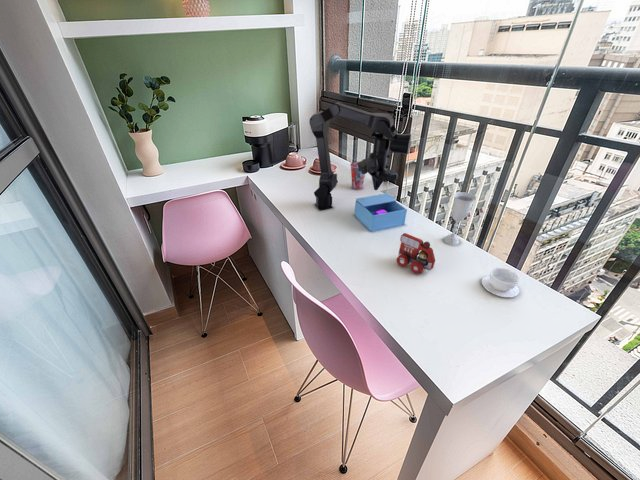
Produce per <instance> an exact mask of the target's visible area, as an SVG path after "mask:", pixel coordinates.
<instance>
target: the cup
mask: <svg viewBox="0 0 640 480" xmlns="http://www.w3.org/2000/svg"><path fill="white" fill-rule="evenodd" d="M358 162H359V161H354V162H350V173H351V177H350V178H351V188H352V189H353V190H355V191H356V190H357V191H359V190H362V189H363V187H364V182H365V177H366V174H362V172H360V171H359V169H358V165H357V163H358Z"/></svg>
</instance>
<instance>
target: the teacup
mask: <svg viewBox="0 0 640 480" xmlns="http://www.w3.org/2000/svg"><path fill="white" fill-rule="evenodd" d="M520 280H521V279H520V276H519V275H518V274H517V273H516V272H514V271H513V270H511V269H508V268H506V267H505V268H504V267H494V268H492V269H491V270H490V274H489V275H486V276H484V277H483V278H482V279H481V284H482V286H483V288H484V289H485V290H487V291H488V292H489V293H491V294H493V295H495V296H498V297H502V298H514V297H517V296H518V295H519V294H520V288H519V286H518V284H519V282H520Z"/></svg>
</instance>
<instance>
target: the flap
mask: <svg viewBox="0 0 640 480" xmlns="http://www.w3.org/2000/svg"><path fill="white" fill-rule="evenodd" d="M356 200H357V201H358V202H359V203H360V204H361V205H363V206H364V207H366V206H371V205H377V204H382V203H388V202H393V201H396V202H397V199H396V198H394V197H393V196H392V195H391V194H389V193H388V192H386V193H380V194H374V195H368V196H363V197H357V198H355V201H356Z"/></svg>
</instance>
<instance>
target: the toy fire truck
mask: <svg viewBox="0 0 640 480" xmlns="http://www.w3.org/2000/svg"><path fill="white" fill-rule="evenodd" d="M399 241H400V245H399V249H398V255H397V258H396V263H397V265H398V266H399V267H402V268H406V267H407V266H409V268H410V270H411V272H412V273H413V274H415V275H419V274H422V273H423V272H424V270H427V271H432V270H433V269H434V268H435V267H434V266H435V263H436V258H435V253H434V249H433V248H432V247H431V242H429V241H423V240H422V239H421V238H418V237H416V236H414V235H411V234H408V233H406V232H404V233H402V234H401V235H400V238H399ZM410 263H411V264H410ZM409 264H410V265H409Z"/></svg>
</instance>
